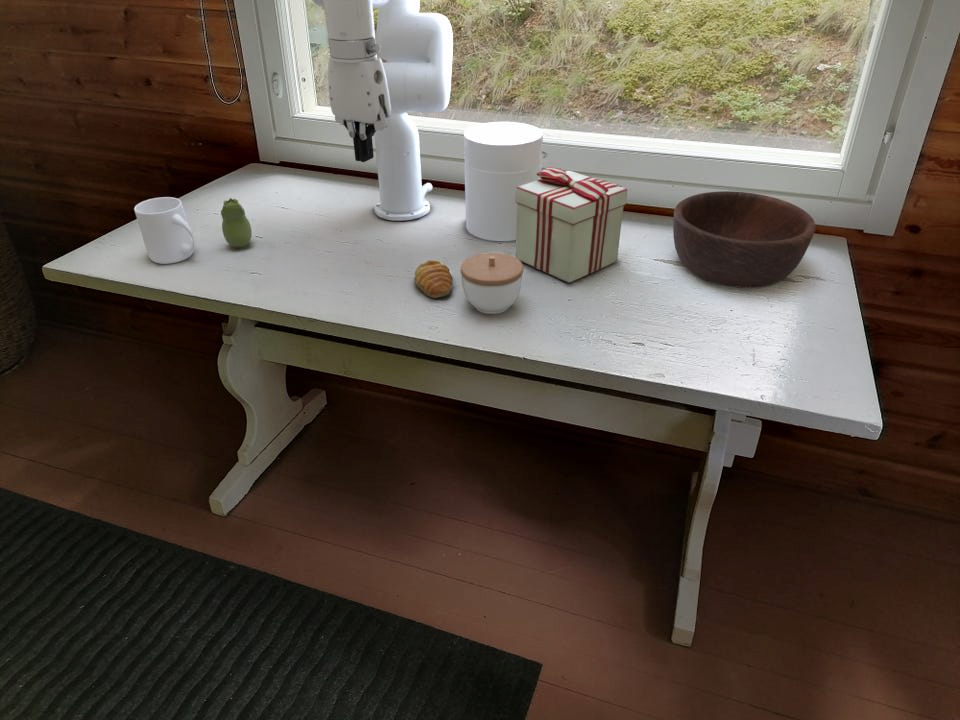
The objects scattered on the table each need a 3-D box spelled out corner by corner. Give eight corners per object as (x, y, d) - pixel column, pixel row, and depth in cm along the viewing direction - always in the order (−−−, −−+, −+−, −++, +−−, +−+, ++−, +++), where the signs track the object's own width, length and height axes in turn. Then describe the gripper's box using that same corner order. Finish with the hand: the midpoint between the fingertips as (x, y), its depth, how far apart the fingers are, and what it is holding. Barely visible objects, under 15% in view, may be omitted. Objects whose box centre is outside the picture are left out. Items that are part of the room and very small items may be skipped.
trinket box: (459, 292, 127) (458, 245, 121) (518, 289, 127) (519, 242, 122) (463, 322, 118) (462, 273, 112) (526, 319, 118) (527, 270, 113)
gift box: (630, 254, 139) (640, 170, 129) (574, 287, 128) (581, 198, 118) (562, 231, 148) (567, 151, 138) (505, 260, 137) (506, 175, 127)
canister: (554, 225, 151) (559, 132, 140) (503, 248, 142) (504, 150, 130) (501, 205, 160) (502, 117, 149) (450, 225, 151) (447, 133, 140)
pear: (253, 239, 147) (244, 193, 141) (255, 249, 142) (245, 203, 137) (226, 242, 145) (215, 197, 140) (226, 253, 141) (215, 206, 135)
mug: (182, 272, 134) (168, 220, 128) (140, 259, 139) (124, 209, 133) (216, 254, 141) (203, 204, 134) (174, 243, 145) (160, 194, 139)
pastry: (460, 297, 125) (459, 278, 123) (423, 303, 124) (422, 284, 121) (446, 274, 132) (445, 256, 130) (412, 279, 131) (410, 261, 129)
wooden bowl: (658, 283, 128) (666, 232, 123) (675, 231, 148) (682, 184, 142) (803, 305, 121) (818, 252, 115) (801, 247, 141) (814, 198, 135)
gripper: (403, 49, 113) (411, 160, 123) (333, 41, 119) (346, 147, 130) (374, 57, 108) (385, 173, 118) (303, 48, 114) (318, 158, 124)
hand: (364, 159), depth 124 cm, fingers closed
